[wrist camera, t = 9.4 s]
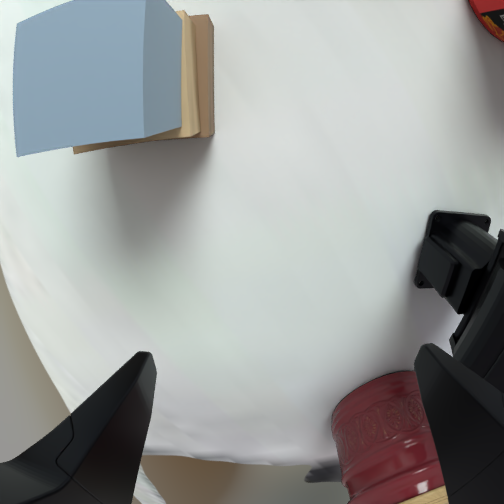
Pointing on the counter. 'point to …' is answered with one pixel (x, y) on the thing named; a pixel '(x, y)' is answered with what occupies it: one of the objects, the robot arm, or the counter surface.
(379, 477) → the canister
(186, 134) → the tower mid
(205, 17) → the tower base
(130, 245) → the counter surface
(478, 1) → the canned food
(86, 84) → the block
